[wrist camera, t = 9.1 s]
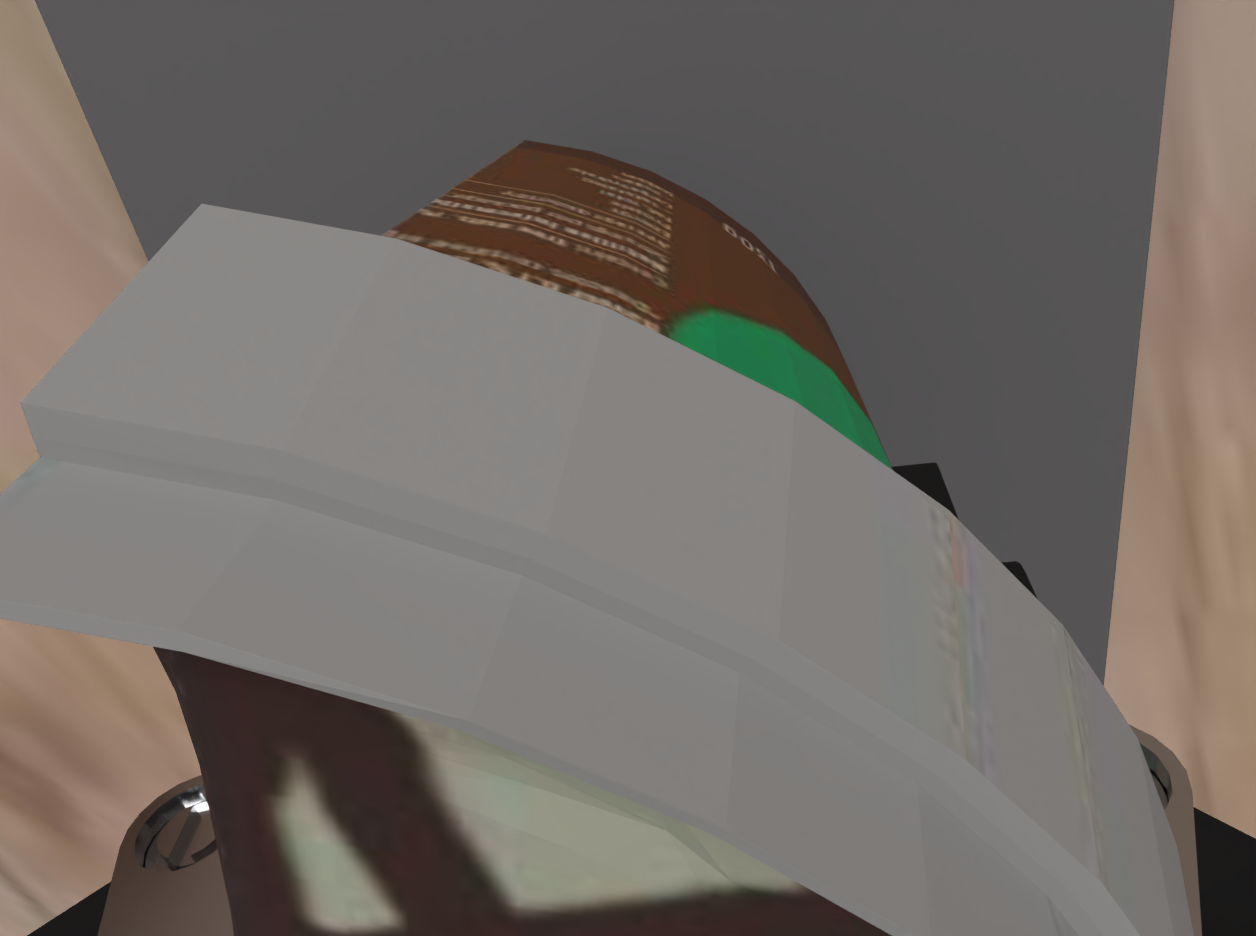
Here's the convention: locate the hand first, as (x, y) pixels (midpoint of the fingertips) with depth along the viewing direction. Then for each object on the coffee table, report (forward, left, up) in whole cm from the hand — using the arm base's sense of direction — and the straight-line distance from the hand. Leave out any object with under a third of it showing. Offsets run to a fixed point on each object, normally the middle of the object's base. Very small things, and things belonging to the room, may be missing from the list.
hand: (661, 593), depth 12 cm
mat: (0, 0, -4) cm, 4 cm away
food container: (-1, 0, -2) cm, 3 cm away
